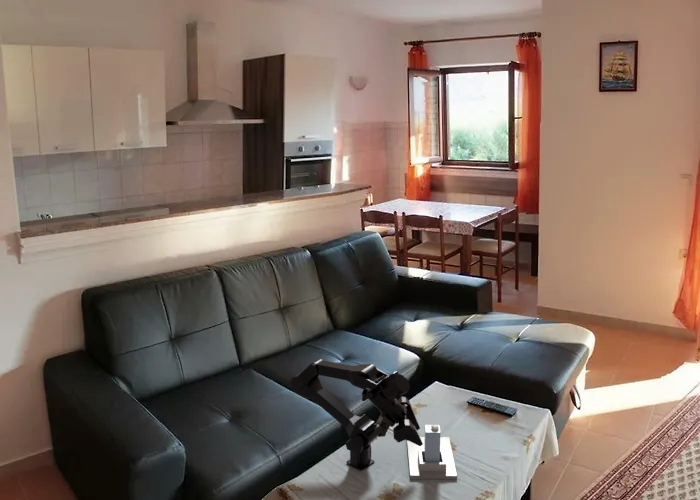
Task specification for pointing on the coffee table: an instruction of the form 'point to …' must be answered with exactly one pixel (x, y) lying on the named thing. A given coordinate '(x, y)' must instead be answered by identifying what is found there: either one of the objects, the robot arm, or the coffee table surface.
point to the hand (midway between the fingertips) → (420, 436)
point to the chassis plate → (431, 469)
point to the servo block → (432, 443)
